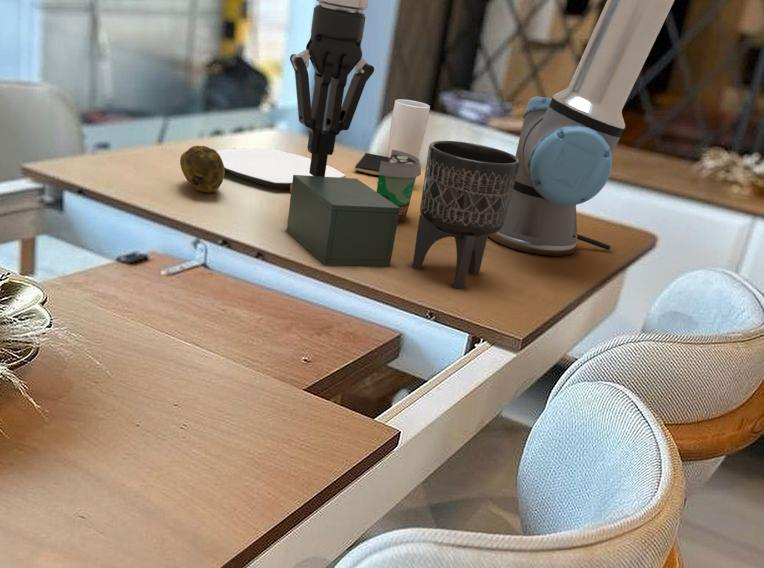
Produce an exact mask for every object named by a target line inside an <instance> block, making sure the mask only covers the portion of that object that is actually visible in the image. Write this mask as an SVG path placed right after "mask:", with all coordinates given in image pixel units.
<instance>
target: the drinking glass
mask: <svg viewBox="0 0 764 568" xmlns="http://www.w3.org/2000/svg"><path fill="white" fill-rule="evenodd" d="M430 110H431V105H429V104H427V103H425V102H421V101H416V100H411V99H405V98H403V99H401V98H398V99H395V100H394V104H393V109H392V115H391V121H390V128H389V130H390V131H389V141H388V143H389V144H388V152H387V153H388V154H387V157H388V158H390V157H391V153H392V150H397V151H401V152H405V153H408V154H411V155H413V156H415V157H417V158H418V159H419V160H420V155H421V151H422V147H423V143H424V140H425V136H426V132H427V128H428V123H429V118H430Z"/></svg>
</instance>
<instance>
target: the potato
mask: <svg viewBox="0 0 764 568" xmlns="http://www.w3.org/2000/svg"><path fill="white" fill-rule="evenodd" d="M216 151H217V150H216V149H213V148H210V147H209V146H205V145H193V146H191V147H190V148H188V149H187V150H186V151H184V152H183V153H182V154H181V155H180V157H179V158H180V159H179V163H180V164H179V165H180V170H181V172H182V174H183V176H184V179H185V180H186V181H187V182H188V183H189V184H190V185H191V186H192V187H193V188H194V189H195V190H197V191H199V192H201V193H202V192H203V193H214V192H216V191H218V190H219V188H220V187H221V185H222V183H223V181H224V179H225V174H226V173H225V172H226V170H225V169H224V164H223V162H222V159H221V157H220V155H219V154H218V153H217V152H216Z"/></svg>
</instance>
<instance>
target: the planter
mask: <svg viewBox="0 0 764 568" xmlns="http://www.w3.org/2000/svg"><path fill="white" fill-rule="evenodd" d="M427 150H428V151H427V156H426V164H425V172H424V179H423V186H422V192H421V193H422V194H421V199H420V200H421V201H420V207H419V213H420V214H419V217H418V223H417V233H416V239H415V245H414V253H413V259H412V268H414V269H418V270H420V269H421V268H422V267H423V265H424V261H425V258H426V256H427V254H428V252H429V251H430V249H431V247H432V246H433V245H434V244H435V243H436V242H438V241H440V240H442V239H445V238H454V241H455V245H456V261H455V271H454V278H453V284H452V286H453V287H454V289H460V290H464V289H465V285H466V282H467V281H466V280H467V276H468V273H470V274H472V275H478V274H480V270H481V265H482V263H483V258H484V254H485V250H486V246H487V242H488V238H489V236H488V235H490V234H494V233H497V232H498V231H500V229H501V228H502V226H503V224H504V221H505V217H506V213H507V210H508V206H509V202H510V199H511V195H512V192H513V188H514V184H515V181H516V177H517V174H518V170H519V166H520V160H519V158H517V157H516V155H515V154H512V153H510V152H507V151H505V150H501V149H499V148H494V147H491V146H487V145H483V144H479V143H472V142H465V141H459V140H457V141H456V140H436V141H432V142H430V143H429V145H428V149H427Z"/></svg>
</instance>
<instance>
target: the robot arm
mask: <svg viewBox="0 0 764 568" xmlns="http://www.w3.org/2000/svg"><path fill="white" fill-rule="evenodd" d="M316 1H317V2H318V4H316V5H315V6H314V7H313V13H312V20H311V28H310V38H309V40H308V41H307V43H306V46H305V49H304V50H302V51H301V52H299V53H298V54H296V53H293V54H291V55H289V61H290V63H291V66H292V68H293V71H294V78H295V91H296V101H297V104H296V105H297V114H298V122H299V123H300V124H301V125H302V126H305V127H306V128H308V131H309V133H308V141H307V146H306V147H307V152H308V153H310V154H311V157H310V159H311V164H310V171H309V173H310V174H311V175H313V176H322V177H325V171H326V165H327V164H328V157H329V156H333V154H334V152H335V145H336V139H337V136H338V135H339V134H340V133H341V132H342V131H348V130H349V129H350V126H351V125H352V122H353V119H354V116H355V113H356V112H357V111H356V110H357V108H358V105H359V103H360V101H361V97H362V95H363V92H364V89H365V87H366V84H367V82H368V80H369V79H370V77H371V76H372V75H373V74H374V72H375V67H374V66H373V65H372V64H369V63H368V62H367V61H366V60H365V59H364V58H363V50H362V41H363V37H364V32H365V24H366V16H365V13H363V11H364V10H366V9H368V6H369V0H316ZM674 2H675V0H606V2H605V4H604V7H603V9H602V11H601V13H600V16H599V18H598V19H597V22H596V24H595V27H594V29H593V31H592V34H591V35H590V38H589V40H588V42H587V44H586V47H585V49H584V52H583V53H582V56H581V58H580V60H579V62H578V65H577V67H576V69H575V72H574V74H573V76H572V77H571V80H570V82H569V85H568V87H566V88H565V89H563V90H561V91H559V92H557V93H554V94H553V95H552V97H551V98H550V97H545V96H544V97H543V96H533V97H531V98H530V99H529V100H528V102H527V105H526V108H525V111H524V113H523V116H522V117H523V118H522V119H523V122H522V126H521V130H520V134H519V139H518V143H517V147H516V151H515V156H516V157H517V158H519V160H520V166H519V170H518V174H517V177H516V181H515V184H514V188H513V192H512V195H511V199H510V202H509V206H508V210H507V213H506V217H505V221H504V224H503V226H502V228H501V229H500V231H498V232H497V233H494V234H490V235H488V238H490V239H491V240H493V242H496V243H498V244H500V245H502V246H504V247H507V248H510V249H514V250H517V251H520V252H525V253H529V254H535V255H540V256H541V255H542V256H550V257H562V256H569V255H572V254H574V253H575V251H576V248H577V245H578V241H581V242H584V243H587V244H589V245H593V246H595V247H598V248H601V249H604V250H607V251H610V250H611V244H607V243H605V242H602V241H598V240H596V239H594V238H591V237H587V236H585V235H582V234H578V219H577V206H578V205H581V204H584V203H586V202H588V201H589V200H591V199H593V198H595V196H597V195H598V194H599V193H600V192H601V191H602V190H603V188H604V187H605V186H606V184H607V182H608V180H609V178H610V176H611V172H612V167H613V166H612V165H613V153H614V151H615V150H616V147H617V145H618V143H619V141H620V139H621V137H622V135H623V132H624V131H625V128H626V123H625V119H624V117H623V109H624V107H625V105H626V102H627V101H628V98H629V96H630V94H631V92H632V90H633V88H634V86H635V84H636V82H637V79H638V78H639V75H640V74H641V71H642V69H643V67H644V65H645V63H646V61H647V58H648V57H649V55H650V52H651V50H652V49H653V46H654V44H655V43H656V40H657V37H658V36H659V34H660V32H661V30H662V27H663V25H664V23H665V20H666V19H667V17H668V15H669V12H670V11H671V9H672V6H673V5H674ZM310 63H311V65H312V67H313V69H314V86H313V93H312V101H311V91H310V90H311V89H310V77H309V71H308V68H309V67H310ZM353 69H354V74H353V75H352V77H351V80H350V83H349V86H348V88H347V91H346V93H345V87H346V86H347V82H348V76H349V75H350V74H351V72H352V71H353ZM328 93H329V94H328ZM344 93H345V95H344ZM343 98H344V99H343ZM327 99H328V102H327ZM326 106H327V108H326ZM325 113H326V116H325ZM324 119H325V120H324ZM323 128H324V129H323Z"/></svg>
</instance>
